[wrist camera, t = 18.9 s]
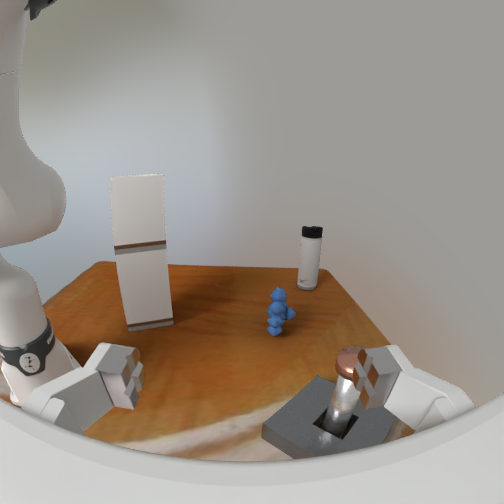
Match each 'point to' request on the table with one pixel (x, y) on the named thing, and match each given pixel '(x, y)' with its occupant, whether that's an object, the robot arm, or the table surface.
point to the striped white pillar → (141, 249)
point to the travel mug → (309, 257)
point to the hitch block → (313, 414)
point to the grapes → (278, 312)
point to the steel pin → (343, 393)
